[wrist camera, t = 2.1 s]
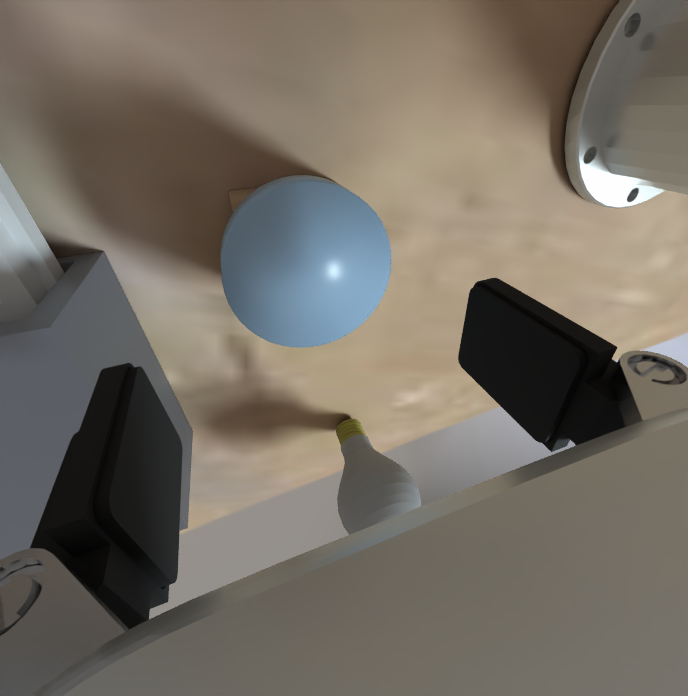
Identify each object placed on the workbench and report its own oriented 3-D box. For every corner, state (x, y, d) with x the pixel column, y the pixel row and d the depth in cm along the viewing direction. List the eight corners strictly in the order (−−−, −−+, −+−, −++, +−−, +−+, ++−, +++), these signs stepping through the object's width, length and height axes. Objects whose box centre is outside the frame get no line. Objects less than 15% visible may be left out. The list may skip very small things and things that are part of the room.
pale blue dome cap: (321, 132, 13) (333, 136, 11) (401, 269, 17) (416, 283, 16) (181, 252, 13) (178, 267, 12) (291, 353, 18) (297, 372, 17)
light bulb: (308, 410, 26) (348, 539, 19) (374, 390, 27) (439, 504, 19) (319, 453, 30) (357, 578, 22) (377, 433, 31) (434, 546, 23)
